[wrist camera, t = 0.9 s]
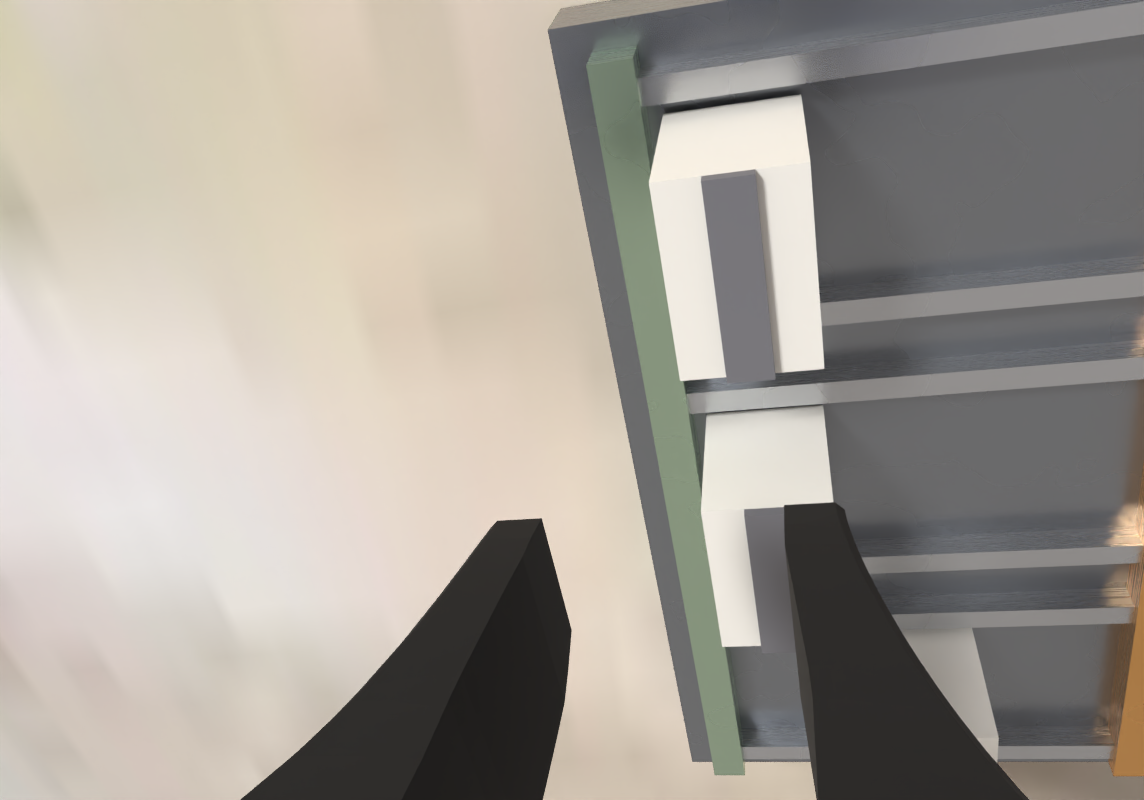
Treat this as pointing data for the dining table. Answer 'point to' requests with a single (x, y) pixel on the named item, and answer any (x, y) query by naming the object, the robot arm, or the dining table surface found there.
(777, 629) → the breaker
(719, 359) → the breaker
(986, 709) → the breaker
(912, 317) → the panel
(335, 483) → the dining table surface
